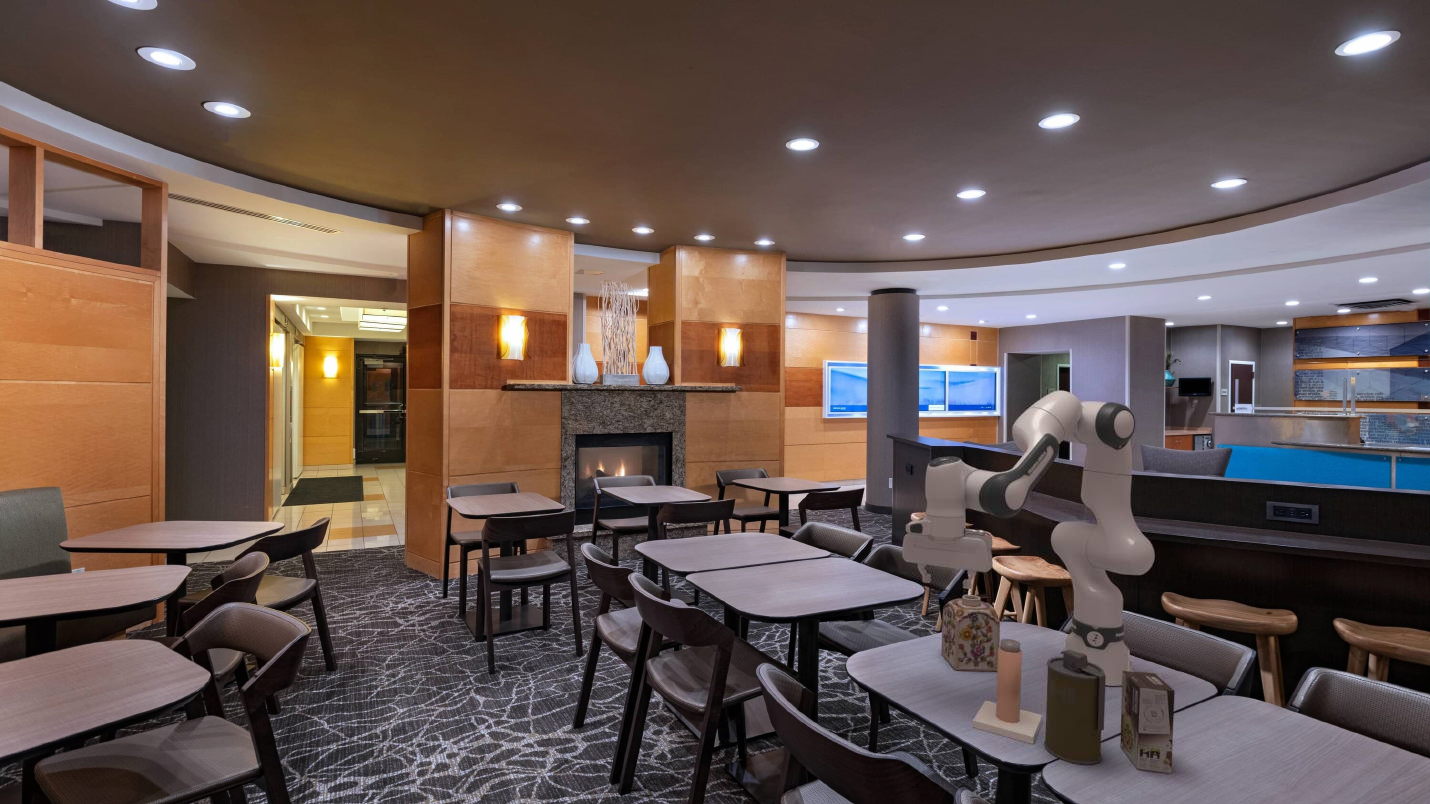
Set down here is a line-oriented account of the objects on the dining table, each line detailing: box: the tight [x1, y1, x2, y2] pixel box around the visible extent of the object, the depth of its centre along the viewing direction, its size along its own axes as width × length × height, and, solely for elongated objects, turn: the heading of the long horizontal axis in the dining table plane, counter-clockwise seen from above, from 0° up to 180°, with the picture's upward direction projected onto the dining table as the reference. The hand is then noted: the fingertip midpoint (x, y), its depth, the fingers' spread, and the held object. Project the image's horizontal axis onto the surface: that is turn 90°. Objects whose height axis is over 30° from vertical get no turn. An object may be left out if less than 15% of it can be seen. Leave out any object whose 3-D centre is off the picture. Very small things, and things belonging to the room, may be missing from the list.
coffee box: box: [1119, 671, 1176, 774], centre depth 137 cm, size 9×6×16 cm
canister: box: [1043, 650, 1106, 766], centre depth 139 cm, size 11×10×20 cm
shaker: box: [995, 638, 1023, 723], centre depth 150 cm, size 5×5×17 cm
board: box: [972, 700, 1043, 745], centre depth 150 cm, size 12×12×2 cm
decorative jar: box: [941, 594, 1001, 673], centre depth 184 cm, size 12×12×18 cm
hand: (946, 585), depth 161 cm, fingers open, 8 cm apart
